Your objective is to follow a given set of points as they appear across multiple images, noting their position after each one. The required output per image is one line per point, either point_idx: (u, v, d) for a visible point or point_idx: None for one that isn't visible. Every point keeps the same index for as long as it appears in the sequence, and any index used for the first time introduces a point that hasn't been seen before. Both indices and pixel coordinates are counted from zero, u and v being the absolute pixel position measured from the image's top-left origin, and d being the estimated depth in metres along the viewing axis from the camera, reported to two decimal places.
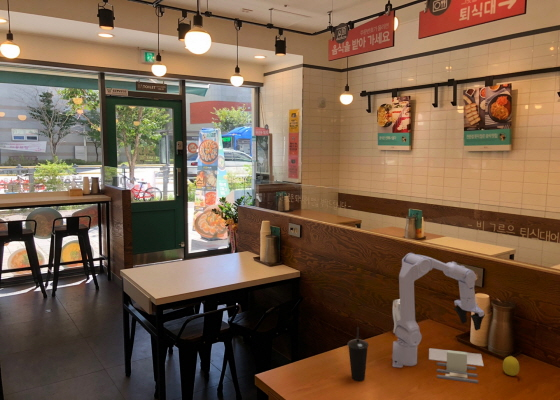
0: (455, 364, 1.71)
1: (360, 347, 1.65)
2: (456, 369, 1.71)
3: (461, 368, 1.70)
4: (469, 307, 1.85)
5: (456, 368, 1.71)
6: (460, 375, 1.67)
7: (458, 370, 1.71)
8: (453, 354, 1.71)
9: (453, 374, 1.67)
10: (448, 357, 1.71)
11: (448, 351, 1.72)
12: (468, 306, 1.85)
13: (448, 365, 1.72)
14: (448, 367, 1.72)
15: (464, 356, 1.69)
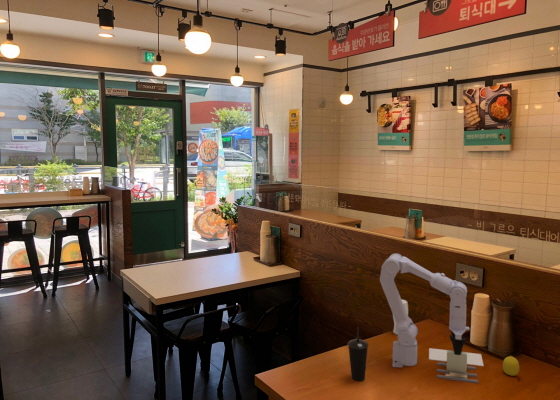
0: (455, 364, 1.71)
1: (360, 347, 1.65)
2: (456, 369, 1.71)
3: (461, 368, 1.70)
4: (453, 327, 1.68)
5: (456, 368, 1.71)
6: (460, 375, 1.67)
7: (458, 370, 1.71)
8: (453, 354, 1.71)
9: (453, 374, 1.67)
10: (448, 357, 1.71)
11: (448, 351, 1.72)
12: (452, 325, 1.68)
13: (448, 365, 1.72)
14: (448, 367, 1.72)
15: (464, 356, 1.69)
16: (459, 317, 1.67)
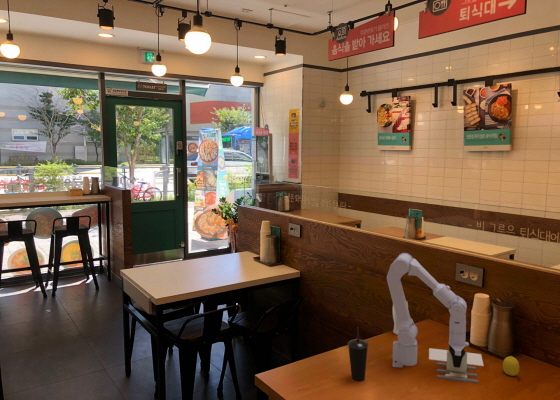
0: None
1: (360, 347, 1.65)
2: (456, 369, 1.71)
3: (461, 368, 1.70)
4: (452, 342, 1.69)
5: (456, 368, 1.71)
6: (460, 375, 1.67)
7: (458, 370, 1.71)
8: None
9: (453, 374, 1.67)
10: (448, 357, 1.71)
11: (448, 351, 1.72)
12: (451, 341, 1.69)
13: (448, 365, 1.72)
14: (448, 367, 1.72)
15: (464, 356, 1.69)
16: (459, 333, 1.67)
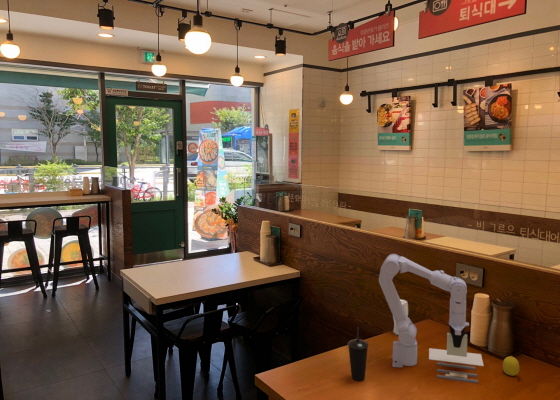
0: None
1: (360, 347, 1.65)
2: (456, 351, 1.72)
3: (461, 350, 1.71)
4: (453, 323, 1.69)
5: (456, 350, 1.72)
6: (460, 375, 1.67)
7: (458, 352, 1.71)
8: None
9: (453, 374, 1.67)
10: (448, 339, 1.72)
11: (448, 333, 1.73)
12: (452, 321, 1.70)
13: (448, 347, 1.72)
14: (448, 349, 1.73)
15: (464, 338, 1.70)
16: (460, 313, 1.68)
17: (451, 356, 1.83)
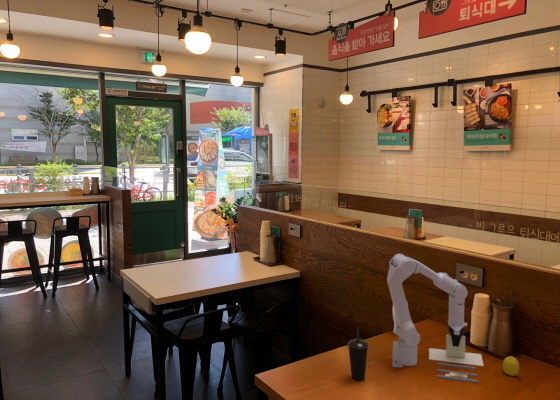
0: (454, 347, 1.81)
1: (360, 347, 1.65)
2: (455, 352, 1.81)
3: (460, 351, 1.81)
4: (452, 323, 1.79)
5: (455, 351, 1.81)
6: (460, 375, 1.67)
7: (457, 353, 1.81)
8: None
9: (453, 374, 1.67)
10: (447, 341, 1.82)
11: (447, 335, 1.82)
12: (451, 321, 1.79)
13: (447, 348, 1.82)
14: (447, 350, 1.82)
15: (462, 339, 1.80)
16: (461, 313, 1.78)
17: (451, 356, 1.83)
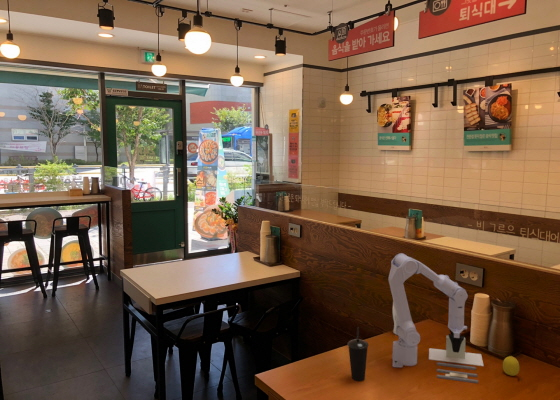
0: None
1: (360, 347, 1.65)
2: (455, 353, 1.81)
3: (460, 352, 1.81)
4: (451, 326, 1.79)
5: (455, 352, 1.81)
6: (460, 375, 1.67)
7: (457, 354, 1.81)
8: None
9: (453, 374, 1.67)
10: (448, 342, 1.82)
11: (448, 336, 1.82)
12: (451, 324, 1.79)
13: (447, 349, 1.82)
14: (448, 351, 1.82)
15: (463, 341, 1.80)
16: (461, 316, 1.78)
17: None
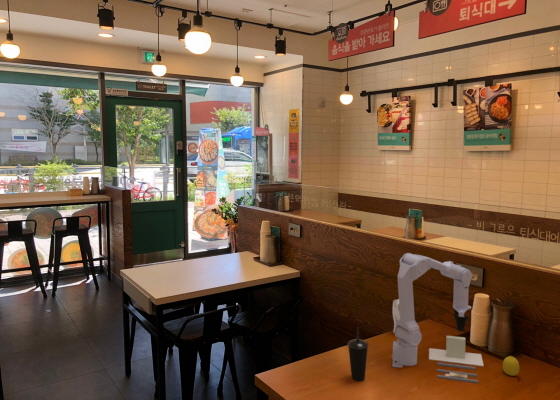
0: (454, 349, 1.81)
1: (360, 347, 1.65)
2: (455, 353, 1.81)
3: (460, 352, 1.81)
4: (456, 306, 1.86)
5: (455, 352, 1.81)
6: (460, 375, 1.67)
7: (457, 354, 1.81)
8: (452, 339, 1.81)
9: (453, 374, 1.67)
10: (448, 342, 1.82)
11: (448, 336, 1.82)
12: (455, 304, 1.87)
13: (447, 349, 1.82)
14: (448, 351, 1.82)
15: (463, 341, 1.80)
16: (467, 296, 1.85)
17: None
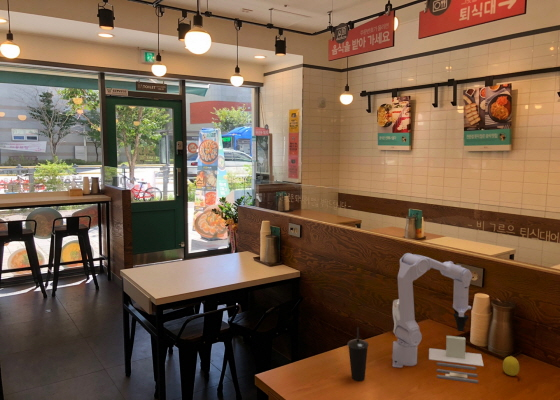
0: (454, 349, 1.81)
1: (360, 347, 1.65)
2: (455, 353, 1.81)
3: (460, 352, 1.81)
4: (456, 306, 1.86)
5: (455, 352, 1.81)
6: (460, 375, 1.67)
7: (457, 354, 1.81)
8: (452, 339, 1.81)
9: (453, 374, 1.67)
10: (448, 342, 1.82)
11: (448, 336, 1.82)
12: (455, 304, 1.87)
13: (447, 349, 1.82)
14: (448, 351, 1.82)
15: (463, 341, 1.80)
16: (467, 296, 1.85)
17: None
